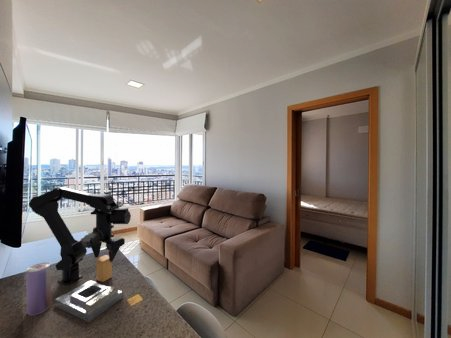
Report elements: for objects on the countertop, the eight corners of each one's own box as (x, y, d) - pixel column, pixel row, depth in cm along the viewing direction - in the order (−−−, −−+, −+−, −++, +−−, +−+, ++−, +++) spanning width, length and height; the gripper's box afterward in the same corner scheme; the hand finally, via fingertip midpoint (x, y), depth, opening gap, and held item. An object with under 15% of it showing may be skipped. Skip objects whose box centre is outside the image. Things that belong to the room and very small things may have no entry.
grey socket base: (55, 306, 67) (55, 293, 67) (90, 286, 79) (90, 275, 78) (88, 322, 61) (88, 308, 61) (122, 298, 72) (122, 286, 72)
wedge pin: (95, 280, 83) (95, 259, 83) (105, 274, 87) (105, 254, 87) (102, 282, 81) (102, 261, 81) (112, 276, 85) (112, 256, 85)
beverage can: (36, 318, 62) (35, 272, 62) (22, 315, 63) (21, 270, 63) (55, 304, 68) (55, 263, 68) (42, 302, 69) (41, 261, 69)
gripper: (69, 226, 80) (69, 263, 80) (100, 233, 73) (100, 274, 73) (96, 219, 90) (96, 252, 90) (125, 224, 83) (125, 260, 83)
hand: (103, 259), depth 84 cm, fingers open, 9 cm apart
